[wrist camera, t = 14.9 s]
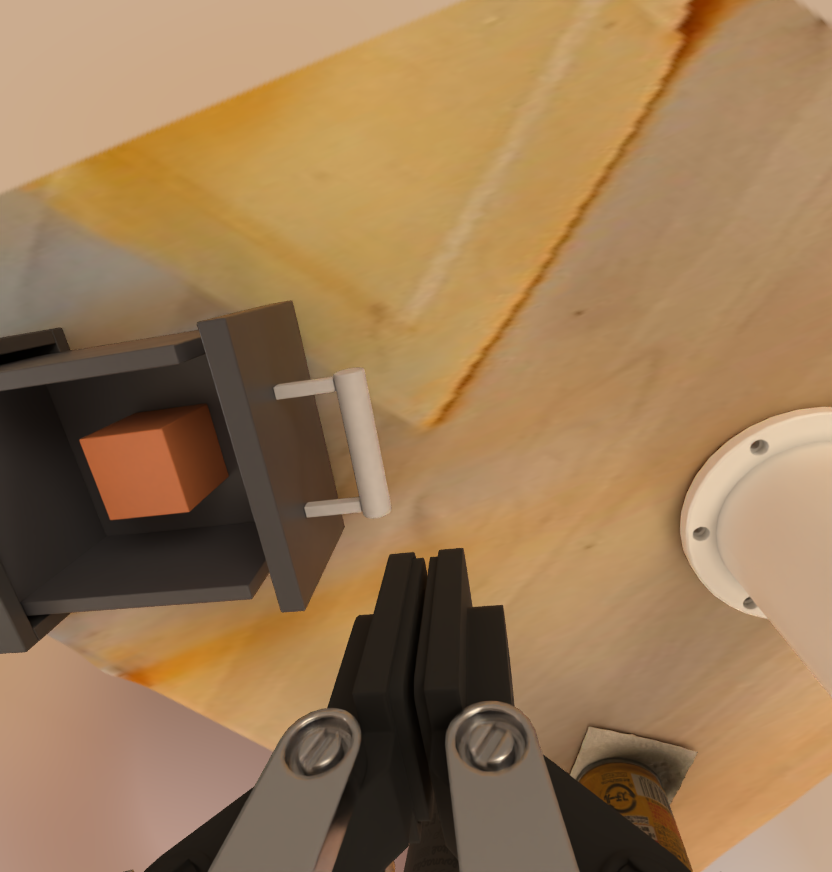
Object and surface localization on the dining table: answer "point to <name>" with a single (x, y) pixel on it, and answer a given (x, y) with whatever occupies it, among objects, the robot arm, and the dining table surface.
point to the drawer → (217, 513)
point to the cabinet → (3, 614)
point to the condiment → (636, 781)
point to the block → (156, 462)
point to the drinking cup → (431, 849)
